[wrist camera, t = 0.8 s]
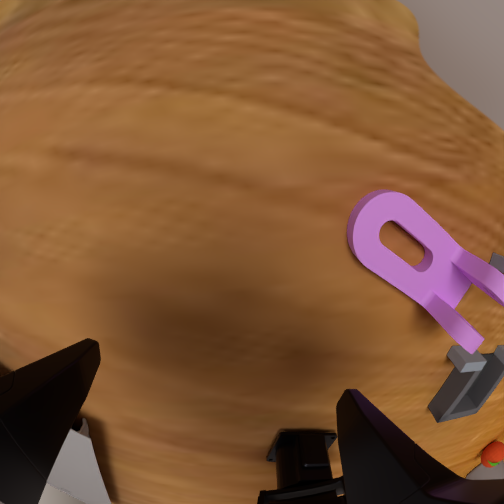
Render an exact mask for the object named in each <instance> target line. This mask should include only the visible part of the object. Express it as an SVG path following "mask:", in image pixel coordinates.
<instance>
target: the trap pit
mask: <svg viewBox="0 0 504 504" xmlns="http://www.w3.org/2000/svg"><path fill="white" fill-rule="evenodd" d="M481 355H482V356H483V357H484V358H485V359H486V361H487V362H486V364H485V365H484V367H483V369H482V370H480V371H471V372H461V373H460V372H459V370H458V369H457V368H456V366H455V368H454V369H453V371H452V372H451V374H450V375H449V377H448V378H447V380H446V381H445V383H444V384H443V386H442V387H441V389H440V390H439V392H438V393H437V394H436V396H435V397H434V398H433V400H432V401H431V403H430V404H429V405H428V407H429V409H430V411H431V413H432V414H433V416H434V418H435V420H436V422H437V423H439V422H443V421H448V420H452V419H456V418H460V417H464V416H468V415H472V414H475V413H477V412H478V410H479V409H480V408H481V407H482V405H483V404H484V403H485V402H486V400H487V399H488V398H489V396H490V395H491V393H492V392H493V391H494V389H495V388H496V386H497V385H498V384H499V382H500V381H501V379H502V378H503V376H504V364H503V363H502V362H501V361H500V360H499V359H498V358H497V356H496V355H495V354H494V353H491V354H481Z"/></svg>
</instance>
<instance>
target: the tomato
mask: <svg viewBox="0 0 504 504" xmlns="http://www.w3.org/2000/svg"><path fill="white" fill-rule="evenodd" d="M503 458H504V444H503V443H502V442H498V441H497V442H493V443H491V444H489V445H488V446H487V447H486V448H485V449H484V451H483V453H482V456H481V462H482V464H483V466H485V467H488V468H491V467H494V466H496V465H497V464H499V463H500V462H501V461H502V460H503Z"/></svg>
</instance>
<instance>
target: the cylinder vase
mask: <svg viewBox="0 0 504 504" xmlns="http://www.w3.org/2000/svg"><path fill="white" fill-rule="evenodd" d="M466 479H470V480H488V479H504V462H503V460H502V461H501V462H500V463H499V464H497V465H496V466H494V467H491V468H488V467H485V466H483V464H482V463H481V464H479V465H478V466H477V467H476V468H474V469H473V470H472V471H471V472H470V473H469V474H468V475H467V477H466Z"/></svg>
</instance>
